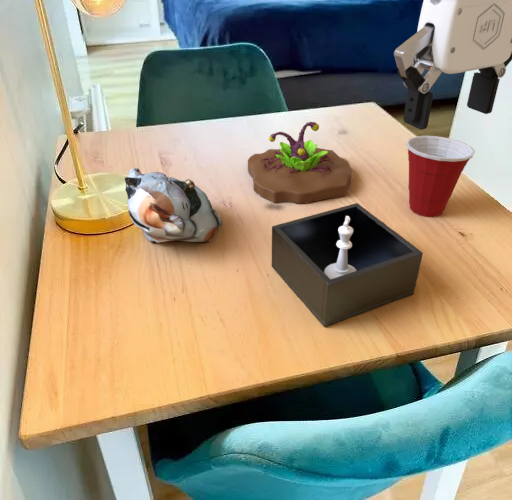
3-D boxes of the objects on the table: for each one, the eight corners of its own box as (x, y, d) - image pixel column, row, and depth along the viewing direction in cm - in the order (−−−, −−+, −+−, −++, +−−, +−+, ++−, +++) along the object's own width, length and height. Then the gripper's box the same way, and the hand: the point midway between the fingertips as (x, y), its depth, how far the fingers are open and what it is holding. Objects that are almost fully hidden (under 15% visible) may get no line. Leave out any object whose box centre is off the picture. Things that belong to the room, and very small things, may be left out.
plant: (364, 199, 92) (372, 141, 85) (257, 207, 89) (257, 148, 83) (335, 153, 108) (340, 102, 101) (244, 159, 106) (243, 107, 99)
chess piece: (318, 282, 71) (323, 221, 66) (329, 263, 75) (335, 204, 69) (352, 291, 70) (360, 230, 64) (362, 271, 73) (370, 212, 67)
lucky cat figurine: (235, 235, 82) (213, 187, 70) (174, 278, 81) (141, 237, 68) (189, 178, 89) (162, 126, 77) (132, 217, 88) (95, 170, 75)
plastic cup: (468, 205, 90) (486, 142, 83) (444, 231, 83) (460, 164, 76) (411, 187, 95) (423, 126, 88) (384, 210, 88) (394, 146, 82)
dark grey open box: (414, 294, 70) (423, 252, 66) (324, 327, 65) (328, 284, 61) (352, 241, 81) (357, 202, 77) (271, 266, 75) (271, 226, 71)
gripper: (443, -51, 42) (411, 143, 52) (578, -60, 48) (527, 114, 58) (384, -55, 48) (366, 121, 57) (513, -63, 54) (476, 96, 64)
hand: (447, 117), depth 58 cm, fingers open, 9 cm apart
